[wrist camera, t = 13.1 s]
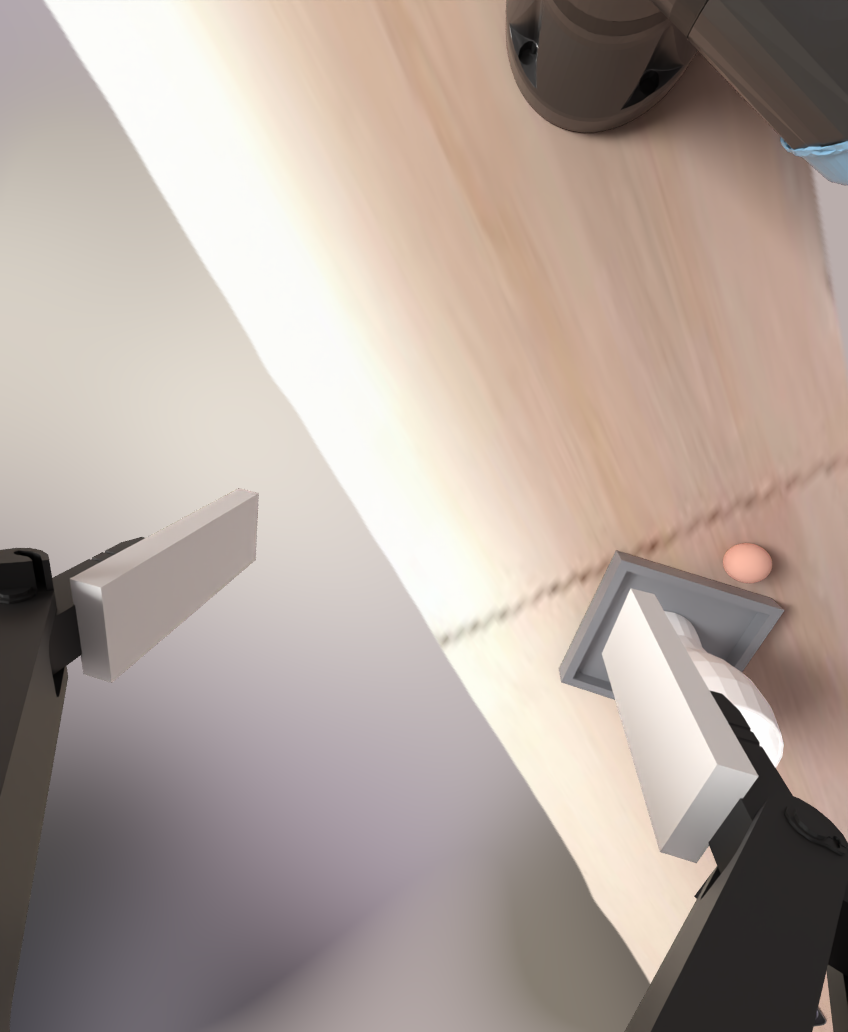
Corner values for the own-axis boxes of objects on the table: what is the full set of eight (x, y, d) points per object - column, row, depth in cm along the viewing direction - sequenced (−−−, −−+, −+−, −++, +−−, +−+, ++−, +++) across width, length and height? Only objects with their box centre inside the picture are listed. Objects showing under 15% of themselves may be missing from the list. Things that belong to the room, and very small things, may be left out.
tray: (616, 550, 48) (621, 559, 46) (771, 598, 47) (784, 610, 45) (558, 668, 55) (561, 682, 53) (694, 713, 54) (702, 728, 52)
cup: (731, 645, 49) (821, 761, 35) (648, 692, 53) (700, 814, 39) (670, 581, 48) (739, 675, 34) (589, 634, 52) (622, 738, 38)
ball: (728, 532, 46) (747, 548, 42) (766, 543, 46) (789, 560, 42) (708, 565, 47) (726, 583, 44) (746, 576, 47) (767, 595, 43)
